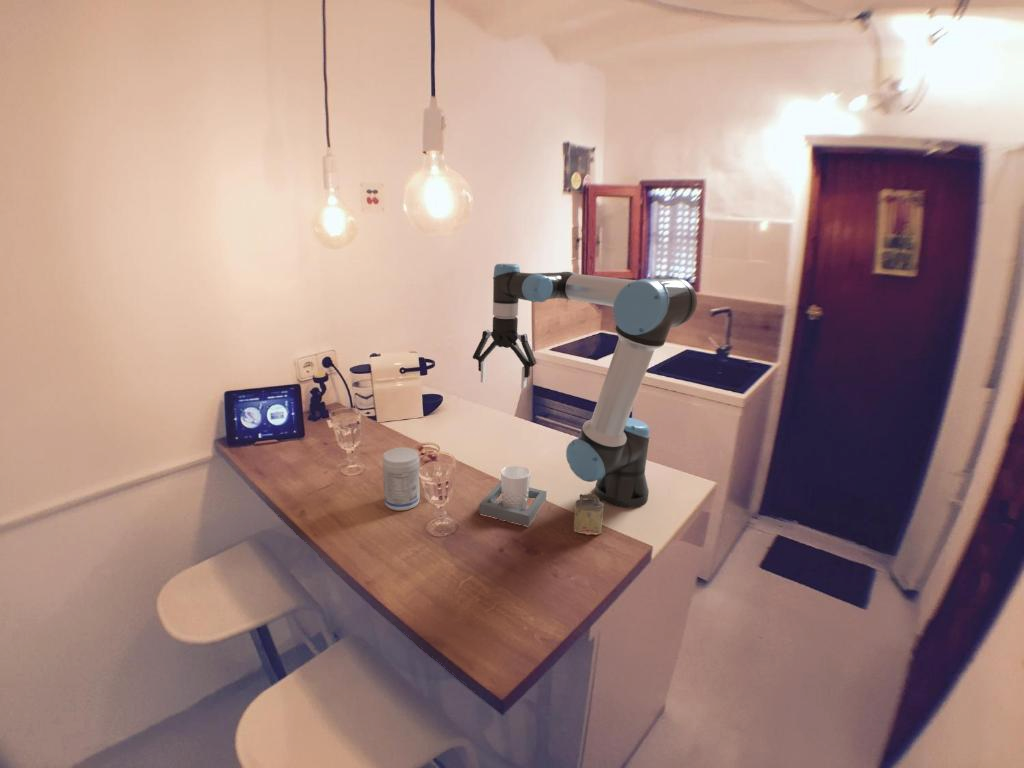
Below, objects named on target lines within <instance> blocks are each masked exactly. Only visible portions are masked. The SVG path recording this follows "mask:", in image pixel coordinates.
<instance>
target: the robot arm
mask: <svg viewBox="0 0 1024 768" xmlns="http://www.w3.org/2000/svg"><path fill="white" fill-rule="evenodd" d="M492 280H493V281H492V282H493V286H492V288H493V292H492V293H493V297H492V298H493V299H492V315H493V317H492V331H490V330H489V329H487V330H486V329H485V330H484V331H482V335H481V339H480V341H479V344H478V345H477V347H476V349H475V352H474V353H473V355H472V359H473V360H476V361H478V362H477V363H478V365H477V367H478V372H480V383H484V382H486V381H487V366H488V365H487V361H488V360H486V358H487V357H488V356H489V354H491V353H492V351H493V350H494V349H495V348H496V347H498V348H505V349H508V348H510V349H511V350H512V351H513V353H514V354H515V355H516V357H517V358H518V359H519V361H520V362H521V364H522V367H521V382H520V383H521V384H520V385H521V387H520V388H521V389H525V388H526V387H527V386H528V385H527V384H528V381H527V380H528V378H529V377H530V375H531V367H534V366H536V365H537V360H536V358H535V356H534V353H533V351H532V349H531V346H530V344H529V341H528V334H527V333H522V334H518V322H519V321H518V320H519V319H518V317H517V316H519V300H523V301H527V302H528V301H529V302H532V303H544V302H546V301H547V300H554V299H562V300H563V299H565V300H569V301H577V302H582V303H583V302H584V303H589V304H590V303H591V304H596V305H602V306H608V307H612V315H613V316H614V319H613V320H614V322H615V324H616V326H615V328H614V332H615V333H616V335H617V337H618V340H617V343H616V345H615V350H614V351H613V354H612V357H611V361H610V364H609V366H608V370H607V372H606V374H605V378H604V381H603V384H602V387H601V390H600V393H599V395H598V399H597V402H596V405H595V408H594V411H593V412H592V416H591V419H588V420H586V421H584V423H583V425H582V428H581V430H580V433H579V435H578V437H577V438H575V439H572V441H570V442H569V444H567V446H566V450H565V456H566V461H567V463H568V464H569V468H570V470H571V472H573V474H574V475H575V476H576V477H577V478H579V479H580V480H582V481H584V482H587V483H588V482H589V483H592V482H596V483H595V488H594V489H595V491H594V492H595V496H598V498H599V500H600V501H601V502H604V503H606V504H608V505H611V506H615V507H619V508H637V507H642V506H643V505H645V504H646V503H647V502H648V500H649V490H650V489H649V487H648V482H647V478H646V474H645V473H646V465H647V458H648V450H649V441H650V439H651V438H650V426H649V425H648V424H647V423H646V422H645V421H642V420H639V419H637V418H633V417H630V415H631V412H632V409H633V408H634V404H635V402H636V399H637V397H638V394H639V391H640V389H641V386H642V384H643V382H644V381H643V380H644V378H645V376H646V373H647V371H648V368H649V365H650V363H651V361H652V358H653V356H654V355H653V354H654V352H655V350H656V349H660V348H661V347H663V346H664V344H665V343H666V340H667V337H668V336H669V333H670V330H671V328H676V327H679V326H682V325H684V324H686V323H687V322H688V321H689V320H690V319H691V318H692V317H693V316H694V315H695V312H696V309H697V307H698V296H697V292H696V290H695V288H694V287H693V285H691V284H690V283H689V282H688V281H686V280H685V279H682V278H679V277H664V278H663V277H661V278H655V277H654V278H652V277H651V278H650V277H646V278H640V279H638V280H635V279H626V278H617V277H608V276H607V277H606V276H599V275H589V274H581V273H580V274H579V273H575V272H574V271H573V272H572V271H560V272H536V273H535V272H532V273H531V272H530V273H529V272H521V271H520V265H519V264H516V263H496V264H495V265H494V268H493V276H492ZM490 337H491V338H492V339H493V341H492V342H491V343H490V345H489V346H488V347H487V348H486V349H485V350H484V348H485V347H486V344H487V342H488V340H489V339H490ZM517 340H519V342H521V346H522V349H523V350H522V349H521V348H520V345H519V343H518V342H517ZM483 350H484V351H483ZM482 351H483V353H482ZM523 351H524V352H523Z"/></svg>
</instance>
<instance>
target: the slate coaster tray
mask: <svg viewBox="0 0 1024 768" xmlns="http://www.w3.org/2000/svg"><path fill="white" fill-rule="evenodd" d="M501 493H502V489H501V480H500V481H499V482H498V483H497V484H496V485H495V486H494V487H493V489H491V491H490V492H488V494H487V495H486V496H485V497H483V499H482V500H481V502H480V503H478V504H479V505H478V506H479V508H478V512H479V513H480V514H483V515H487V516H491V517H495V518H497V519H501V520H506V521H509V522H514V523H518V524H521V525H526V526H529V525H530V523H531V521H532V520H533V518H534V517H535V515H536V513H537V512H538V510H539V508H540V507H541V505H542V504H543V502H544V501H546V502H547V491H546V490H543V489H537V488H533V487H530V486H529V493H528V497H529V498H535V500H534V501H533V503H532V504H531V505H530V507H529V508H528V509H523V510H516V509H512V508H508V507H504V506H503V505H502V500H499V501H496V500H498V499H497V498H498V497H499V496H500V494H501ZM497 502H498V503H497ZM479 513H478V514H479ZM535 518H536V517H535ZM533 521H534V520H533ZM531 524H532V523H531ZM530 526H531V525H530ZM530 526H529V527H530Z"/></svg>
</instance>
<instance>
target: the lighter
mask: <svg viewBox="0 0 1024 768" xmlns="http://www.w3.org/2000/svg"><path fill="white" fill-rule="evenodd" d="M603 516H604V503H603V501H601V500H600V499H599V498H598V496H597V495H593V493H587V494H583V493H581V494H579V499H577V500H576V501H575V507H574V518H573V519H574V521H573V528H574V530H576V531H577V532H587V533H589V532H590V533H599V532H600V531H601V532H602V527H603V519H604V517H603ZM574 530H573V531H574Z"/></svg>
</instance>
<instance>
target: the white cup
mask: <svg viewBox="0 0 1024 768" xmlns="http://www.w3.org/2000/svg"><path fill="white" fill-rule="evenodd" d="M530 479H531V470H530V469H529V468H528V467H526V466H522V465H517V464H515V465H507V466H505V467H503V468H502V469H501V471H500V481H501V489H502V505H503V506H504V507H508V508H512V509H516V510H523V509H525V508H526V506H527V500H528V493H529V487H530V481H531V480H530Z"/></svg>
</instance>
